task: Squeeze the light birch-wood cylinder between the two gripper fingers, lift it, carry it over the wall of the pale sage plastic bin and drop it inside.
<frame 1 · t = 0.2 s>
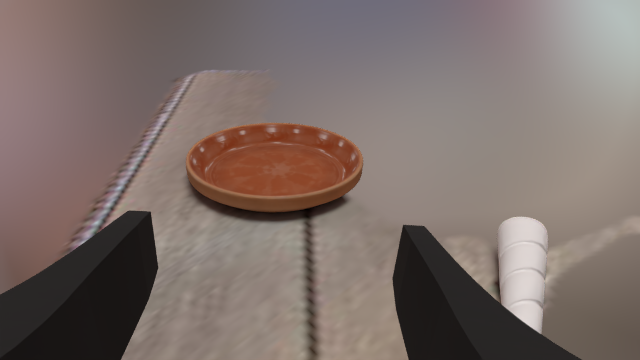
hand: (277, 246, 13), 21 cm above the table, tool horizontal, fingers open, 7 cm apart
saucer: (276, 178, 62), on the table
unicorn horn: (520, 326, 40), on the table
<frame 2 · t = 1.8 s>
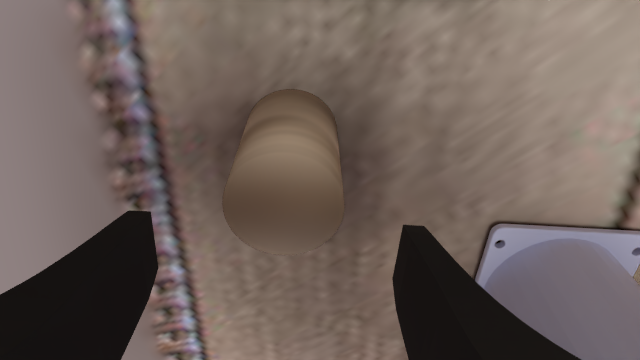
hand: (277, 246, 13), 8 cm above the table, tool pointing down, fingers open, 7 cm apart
birch cylinder: (291, 132, 20), on the table
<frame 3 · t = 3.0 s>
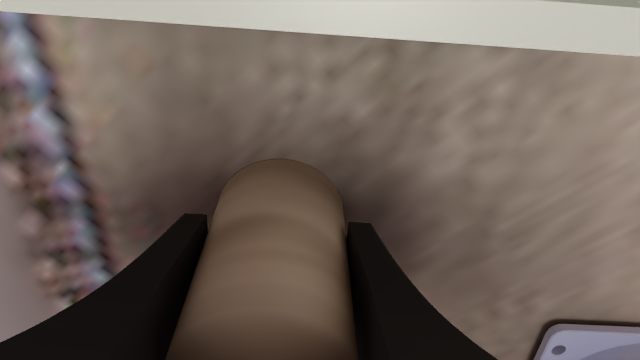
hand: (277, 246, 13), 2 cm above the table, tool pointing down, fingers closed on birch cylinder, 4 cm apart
birch cylinder: (281, 214, 15), on the table, touching gripper
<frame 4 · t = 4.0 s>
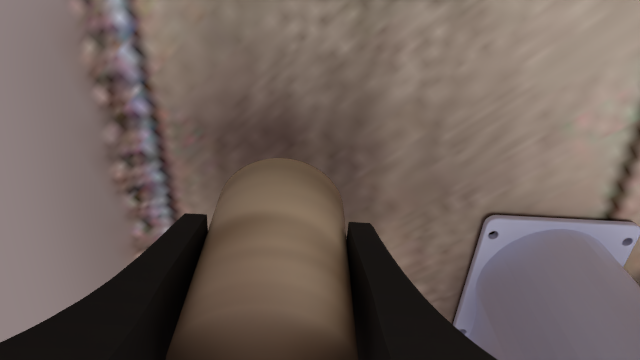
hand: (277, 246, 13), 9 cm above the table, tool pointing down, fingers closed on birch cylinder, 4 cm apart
birch cylinder: (281, 213, 15), point 7 cm above the table, touching gripper
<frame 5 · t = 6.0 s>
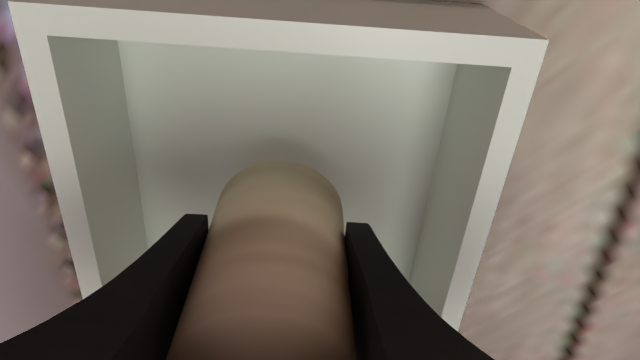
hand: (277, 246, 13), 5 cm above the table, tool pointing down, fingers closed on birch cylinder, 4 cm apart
sage bin: (287, 159, 18), on the table
birch cylinder: (280, 215, 15), point 4 cm above the table, touching gripper
when the fingers open (5 cm above the table, at t = 6.1 s): birch cylinder drops 3 cm, resting on sage bin.
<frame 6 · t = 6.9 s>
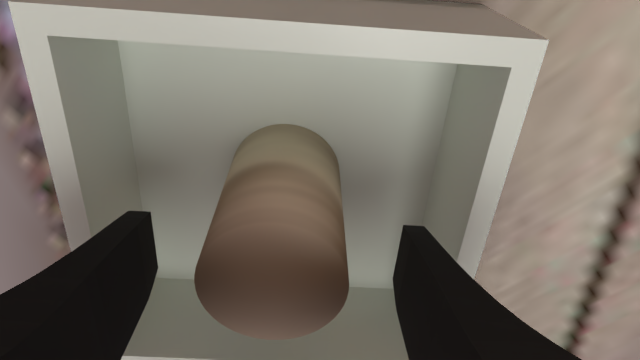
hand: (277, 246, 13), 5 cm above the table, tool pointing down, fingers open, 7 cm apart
sage bin: (287, 160, 18), on the table
birch cylinder: (285, 173, 17), point 1 cm above the table, touching sage bin
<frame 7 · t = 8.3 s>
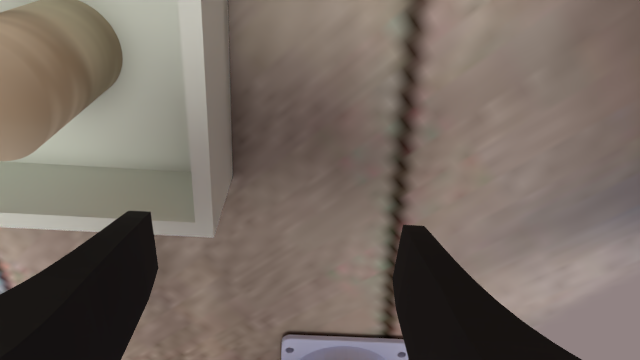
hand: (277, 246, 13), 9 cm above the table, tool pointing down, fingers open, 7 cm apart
sage bin: (82, 41, 20), on the table
birch cylinder: (72, 48, 19), point 1 cm above the table, touching sage bin
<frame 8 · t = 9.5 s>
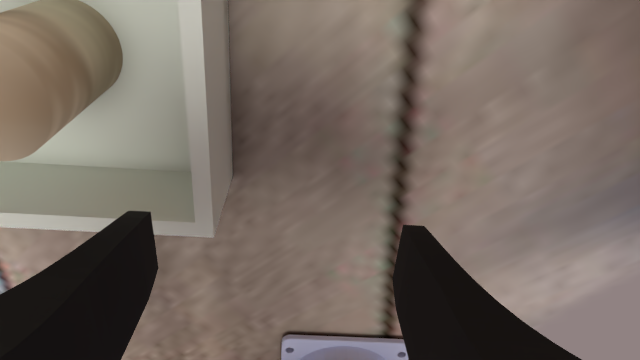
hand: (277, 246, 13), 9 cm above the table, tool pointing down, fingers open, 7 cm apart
sage bin: (82, 41, 20), on the table
birch cylinder: (72, 48, 19), point 1 cm above the table, touching sage bin
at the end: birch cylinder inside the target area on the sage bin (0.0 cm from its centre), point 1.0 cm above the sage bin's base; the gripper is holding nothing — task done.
